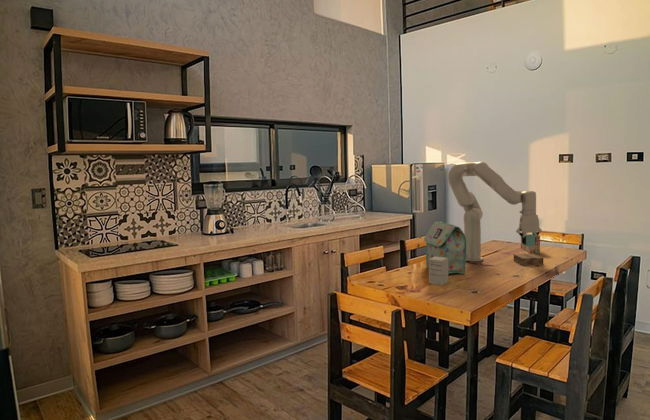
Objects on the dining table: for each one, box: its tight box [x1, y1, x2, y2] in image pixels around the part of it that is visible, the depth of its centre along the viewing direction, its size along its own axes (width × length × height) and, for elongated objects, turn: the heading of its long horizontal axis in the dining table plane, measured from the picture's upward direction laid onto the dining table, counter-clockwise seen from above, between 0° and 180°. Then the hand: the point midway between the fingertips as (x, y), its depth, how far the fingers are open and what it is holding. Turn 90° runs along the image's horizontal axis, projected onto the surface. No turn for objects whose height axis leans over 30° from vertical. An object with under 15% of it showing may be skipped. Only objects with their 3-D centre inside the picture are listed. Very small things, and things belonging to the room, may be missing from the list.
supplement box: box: [428, 257, 449, 286], centre depth 228 cm, size 7×7×13 cm
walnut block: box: [513, 253, 544, 266], centre depth 267 cm, size 12×12×4 cm
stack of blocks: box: [520, 232, 541, 255], centre depth 302 cm, size 21×6×12 cm, turn 171°
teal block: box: [523, 234, 535, 246], centre depth 266 cm, size 5×5×6 cm
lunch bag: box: [423, 220, 467, 275], centre depth 253 cm, size 23×16×27 cm
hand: (528, 243), depth 266 cm, fingers closed on teal block, 5 cm apart
